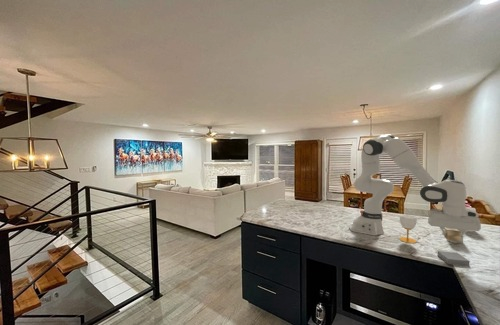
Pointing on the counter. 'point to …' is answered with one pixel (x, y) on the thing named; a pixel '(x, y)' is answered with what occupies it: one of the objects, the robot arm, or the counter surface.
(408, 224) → the cup
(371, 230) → the robot arm
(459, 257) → the plate
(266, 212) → the counter surface
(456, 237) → the maple cube
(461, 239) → the supplement box
